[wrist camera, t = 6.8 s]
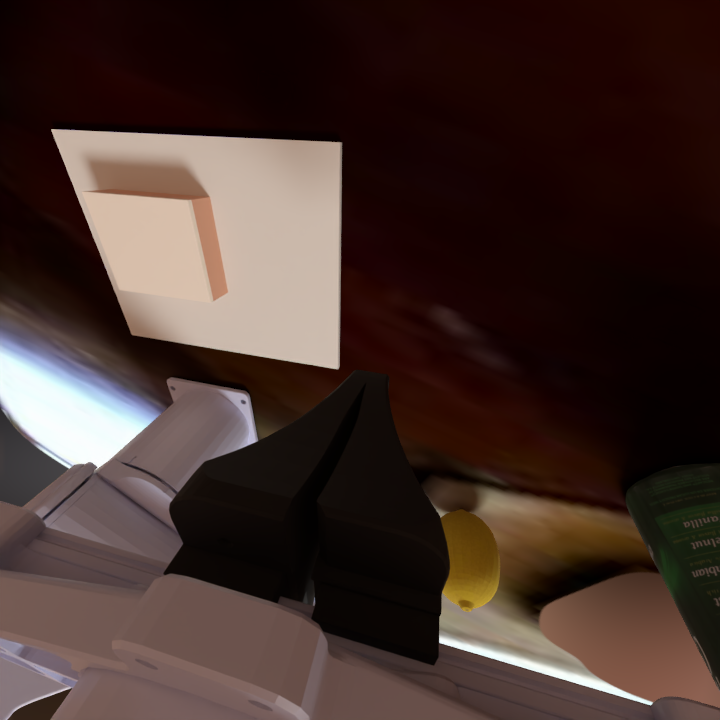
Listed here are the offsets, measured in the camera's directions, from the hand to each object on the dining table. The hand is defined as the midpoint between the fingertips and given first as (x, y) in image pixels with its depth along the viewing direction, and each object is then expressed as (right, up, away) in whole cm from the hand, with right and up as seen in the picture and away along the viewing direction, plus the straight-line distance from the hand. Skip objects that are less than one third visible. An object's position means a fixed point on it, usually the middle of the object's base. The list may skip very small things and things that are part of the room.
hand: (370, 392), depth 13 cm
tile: (-10, +8, +7) cm, 15 cm away
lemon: (+9, -13, +17) cm, 23 cm away
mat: (-10, +8, +9) cm, 16 cm away
